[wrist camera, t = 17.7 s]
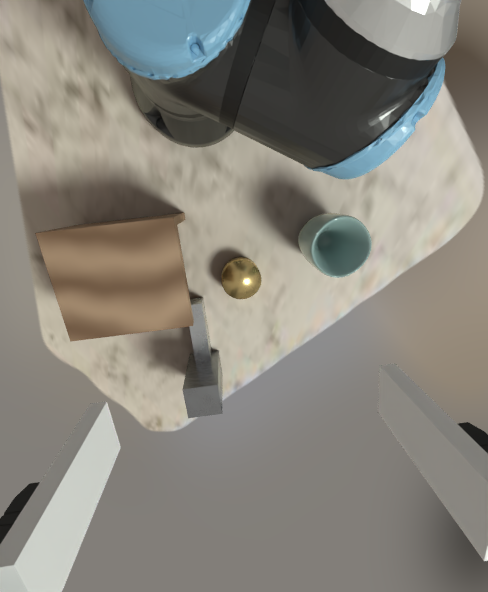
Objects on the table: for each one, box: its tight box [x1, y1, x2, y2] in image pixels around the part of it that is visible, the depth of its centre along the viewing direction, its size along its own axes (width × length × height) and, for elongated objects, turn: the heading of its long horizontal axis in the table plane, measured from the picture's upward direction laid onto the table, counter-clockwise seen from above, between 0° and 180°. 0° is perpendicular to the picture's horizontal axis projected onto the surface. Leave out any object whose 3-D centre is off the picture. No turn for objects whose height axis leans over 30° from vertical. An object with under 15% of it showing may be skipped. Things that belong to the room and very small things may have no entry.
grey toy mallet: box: [183, 297, 222, 418], centre depth 47 cm, size 15×5×10 cm, turn 6°
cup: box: [298, 213, 371, 278], centre depth 42 cm, size 8×8×10 cm
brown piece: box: [35, 213, 194, 341], centre depth 42 cm, size 14×16×10 cm
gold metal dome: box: [222, 257, 261, 299], centre depth 47 cm, size 6×6×3 cm
